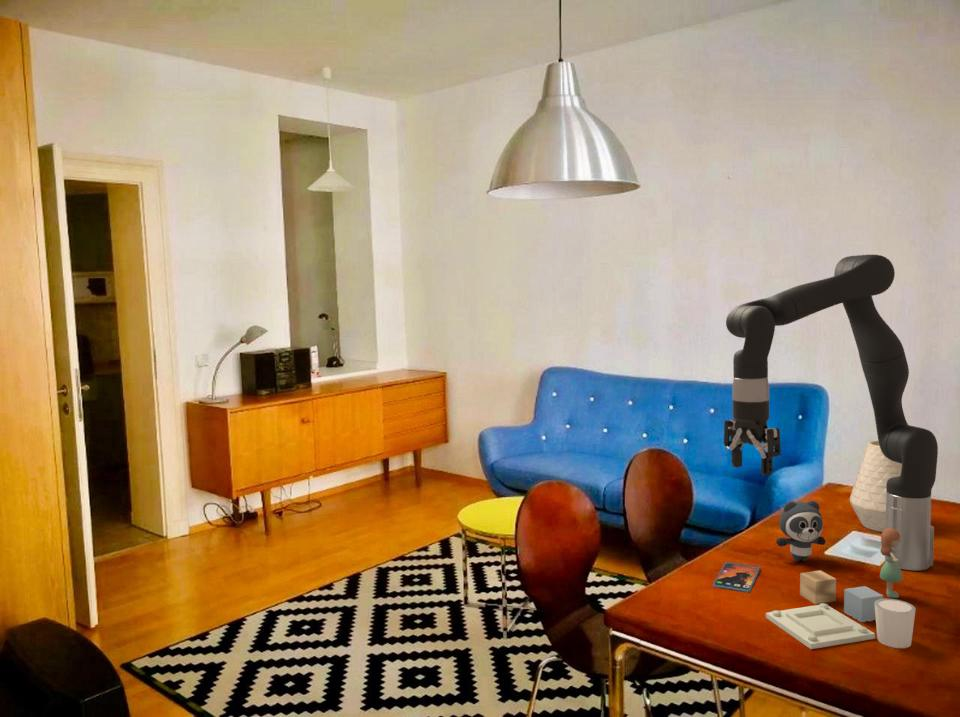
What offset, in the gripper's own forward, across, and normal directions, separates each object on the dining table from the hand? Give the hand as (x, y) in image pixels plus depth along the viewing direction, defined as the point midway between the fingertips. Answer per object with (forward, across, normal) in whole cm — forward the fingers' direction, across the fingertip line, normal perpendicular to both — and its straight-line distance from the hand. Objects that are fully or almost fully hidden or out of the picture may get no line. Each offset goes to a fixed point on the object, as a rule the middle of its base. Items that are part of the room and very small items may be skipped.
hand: (751, 470), depth 165 cm
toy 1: (+27, +6, -22) cm, 36 cm away
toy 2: (+28, -17, -22) cm, 39 cm away
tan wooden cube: (+27, -10, -8) cm, 30 cm away
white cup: (+27, -31, -5) cm, 41 cm away
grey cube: (+27, -20, -9) cm, 35 cm away
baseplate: (+27, -20, +3) cm, 34 cm away
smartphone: (+28, +7, -2) cm, 28 cm away
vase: (+28, +14, -61) cm, 69 cm away
